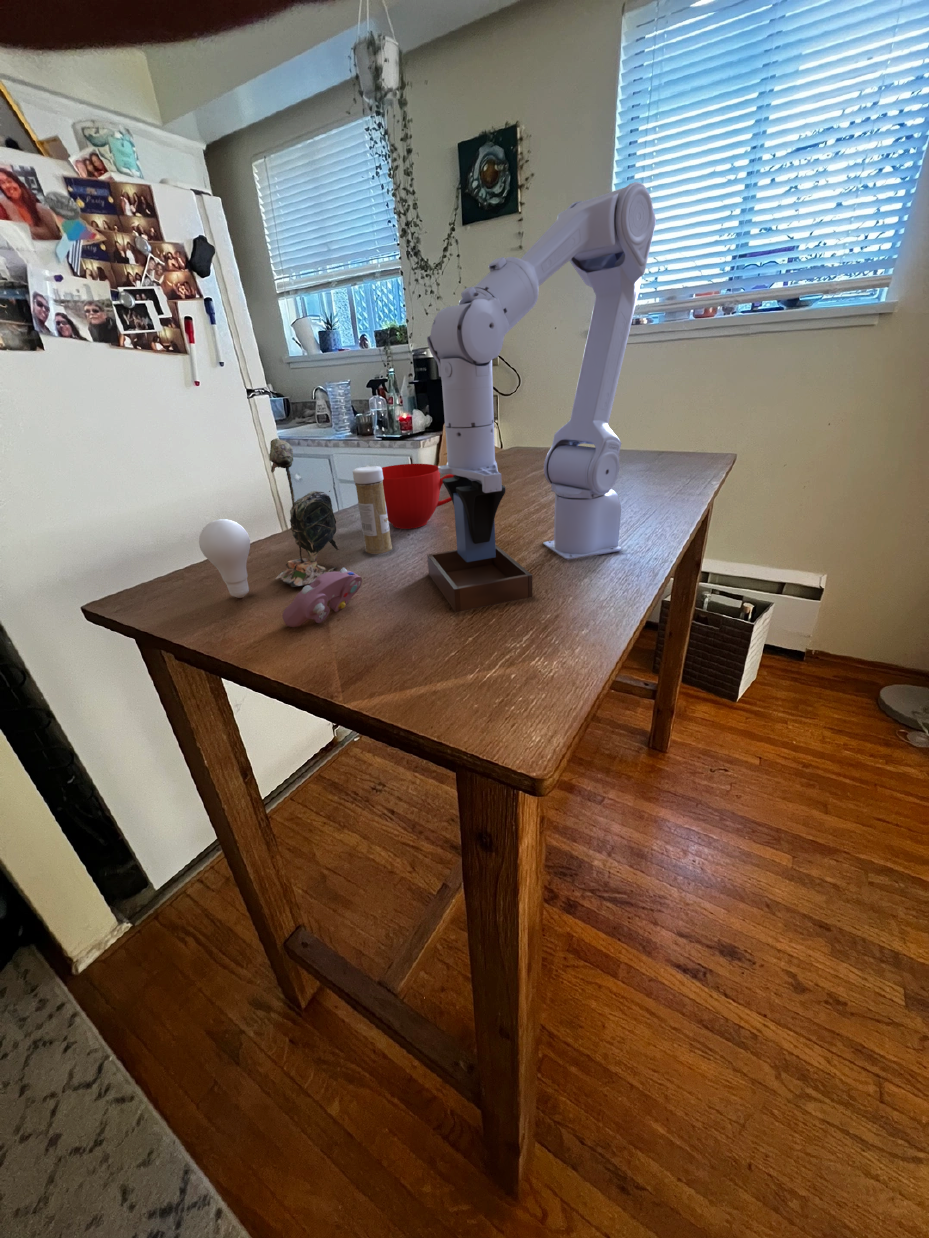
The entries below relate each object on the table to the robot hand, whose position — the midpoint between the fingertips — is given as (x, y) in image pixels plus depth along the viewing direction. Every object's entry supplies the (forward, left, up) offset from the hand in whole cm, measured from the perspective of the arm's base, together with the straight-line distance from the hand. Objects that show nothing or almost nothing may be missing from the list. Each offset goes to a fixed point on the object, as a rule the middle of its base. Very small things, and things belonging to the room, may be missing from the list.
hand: (475, 536), depth 65 cm
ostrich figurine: (+21, -15, -7) cm, 27 cm away
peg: (0, 0, -2) cm, 2 cm away
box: (0, 0, -7) cm, 7 cm away
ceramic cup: (0, -33, -7) cm, 34 cm away
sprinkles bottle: (+10, -21, -7) cm, 24 cm away
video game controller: (+20, 0, -7) cm, 21 cm away
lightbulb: (+31, -11, -7) cm, 34 cm away
